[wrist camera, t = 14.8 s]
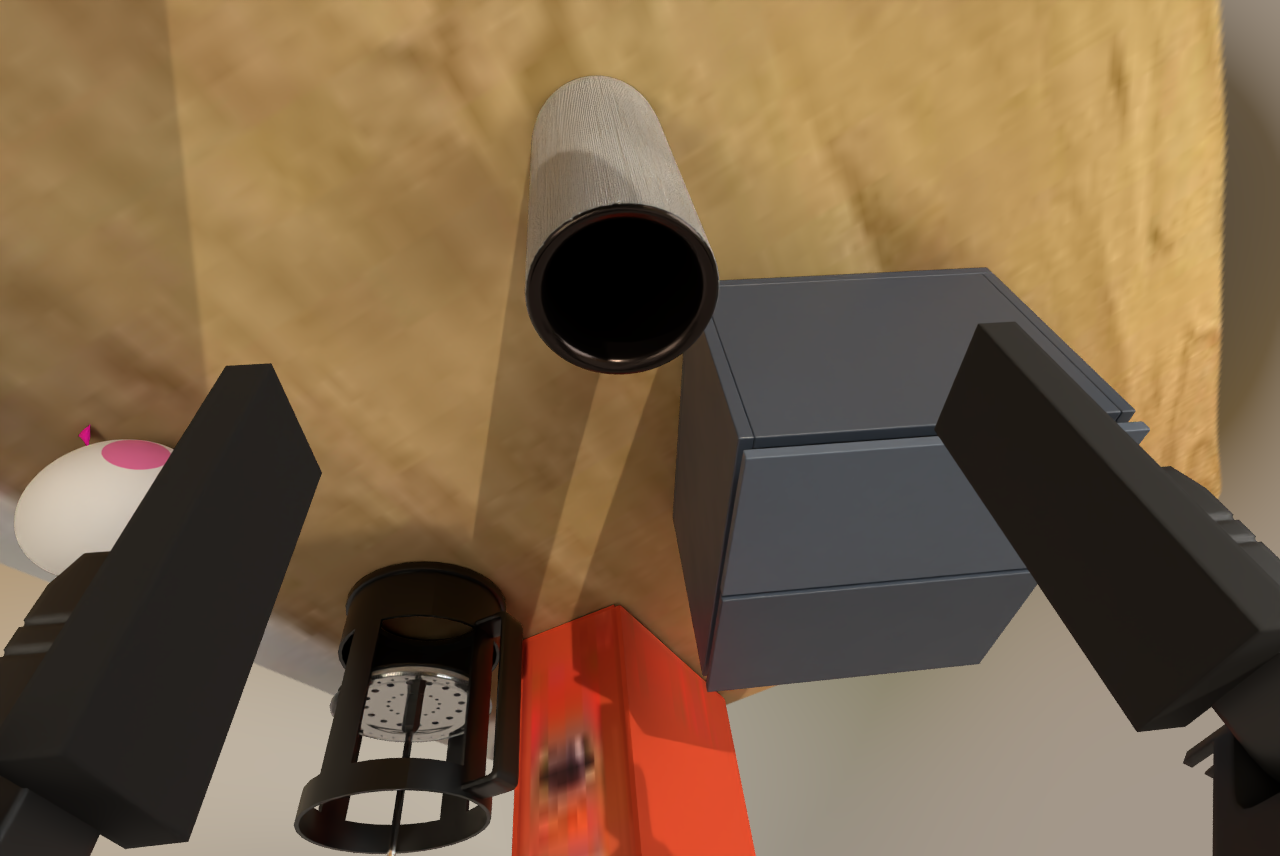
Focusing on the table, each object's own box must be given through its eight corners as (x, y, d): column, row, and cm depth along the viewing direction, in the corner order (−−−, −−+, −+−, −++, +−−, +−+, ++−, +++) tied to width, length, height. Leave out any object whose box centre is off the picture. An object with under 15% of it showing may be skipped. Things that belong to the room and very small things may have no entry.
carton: (687, 281, 26) (744, 457, 19) (987, 266, 28) (1154, 427, 20) (672, 517, 37) (705, 693, 29) (892, 499, 38) (979, 665, 30)
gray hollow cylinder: (640, 53, 21) (695, 173, 13) (676, 185, 24) (737, 345, 16) (509, 101, 21) (490, 244, 14) (560, 225, 24) (567, 397, 17)
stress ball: (175, 469, 34) (202, 586, 33) (-32, 469, 27) (-10, 619, 26) (257, 400, 32) (292, 524, 30) (52, 379, 25) (83, 541, 23)
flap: (742, 449, 19) (745, 458, 19) (1143, 420, 20) (1151, 429, 20) (719, 587, 24) (722, 596, 24) (1041, 558, 25) (1047, 566, 25)
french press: (408, 664, 44) (323, 1177, 27) (302, 600, 38) (108, 1209, 21) (557, 607, 41) (566, 1136, 24) (469, 530, 35) (401, 1159, 18)
